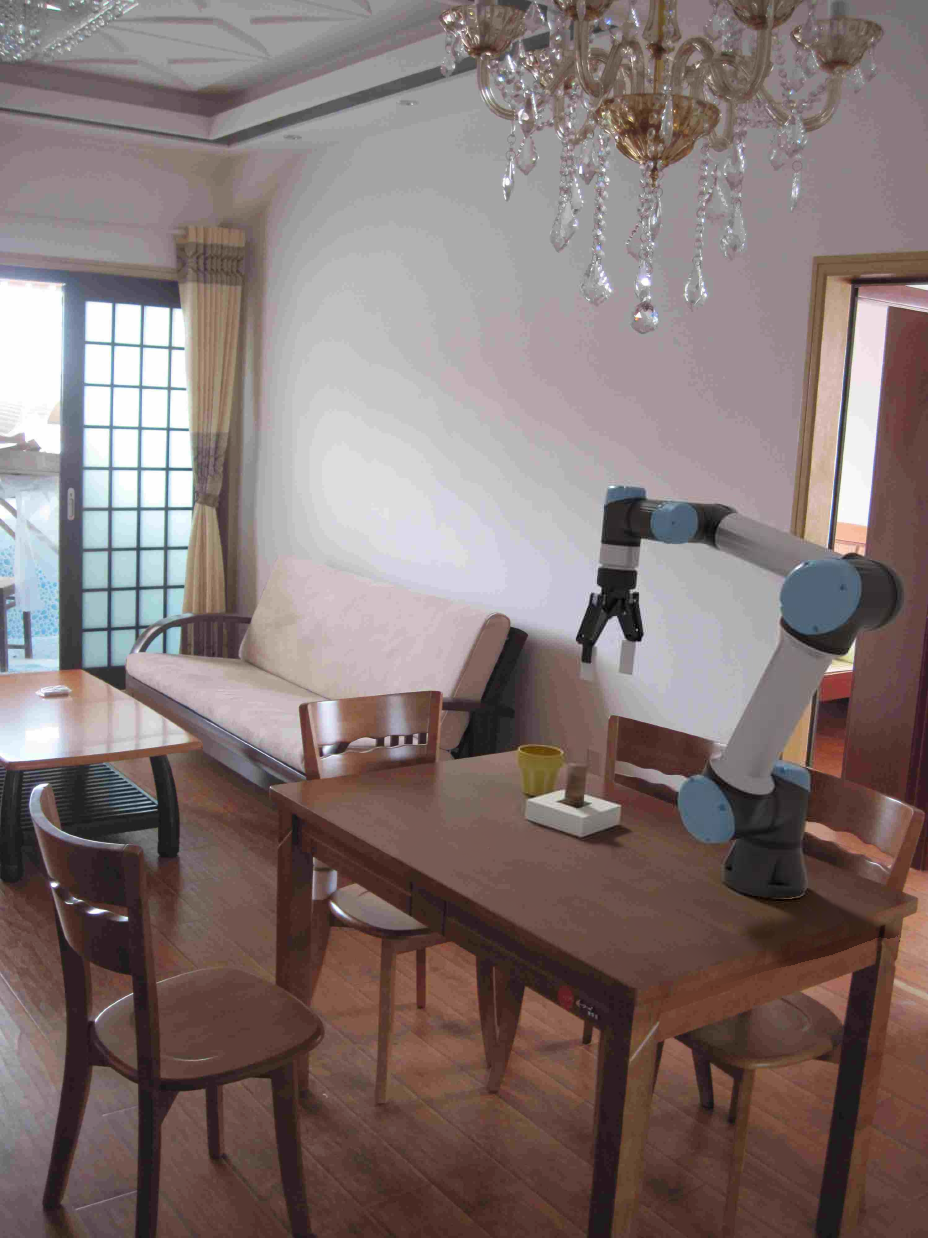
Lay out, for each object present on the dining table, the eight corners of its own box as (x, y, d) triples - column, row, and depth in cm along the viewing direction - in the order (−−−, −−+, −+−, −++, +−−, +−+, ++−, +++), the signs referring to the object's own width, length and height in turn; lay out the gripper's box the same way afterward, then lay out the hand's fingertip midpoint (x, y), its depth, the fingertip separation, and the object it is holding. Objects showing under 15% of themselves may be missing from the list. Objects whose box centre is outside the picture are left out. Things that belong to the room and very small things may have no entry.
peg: (585, 822, 237) (591, 765, 235) (574, 826, 234) (580, 768, 232) (569, 817, 240) (575, 761, 238) (558, 820, 237) (563, 764, 235)
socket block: (619, 824, 238) (621, 805, 237) (580, 837, 227) (583, 817, 227) (563, 806, 247) (565, 788, 246) (524, 818, 236) (526, 799, 235)
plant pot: (505, 787, 258) (509, 744, 257) (545, 785, 262) (550, 743, 261) (527, 800, 249) (531, 756, 247) (568, 798, 253) (573, 755, 252)
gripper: (635, 563, 230) (624, 667, 233) (564, 565, 211) (553, 678, 214) (668, 568, 226) (656, 674, 229) (598, 570, 207) (586, 686, 209)
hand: (606, 676), depth 221 cm, fingers open, 13 cm apart
